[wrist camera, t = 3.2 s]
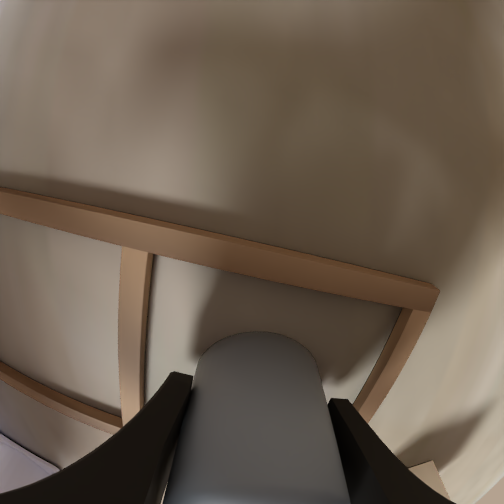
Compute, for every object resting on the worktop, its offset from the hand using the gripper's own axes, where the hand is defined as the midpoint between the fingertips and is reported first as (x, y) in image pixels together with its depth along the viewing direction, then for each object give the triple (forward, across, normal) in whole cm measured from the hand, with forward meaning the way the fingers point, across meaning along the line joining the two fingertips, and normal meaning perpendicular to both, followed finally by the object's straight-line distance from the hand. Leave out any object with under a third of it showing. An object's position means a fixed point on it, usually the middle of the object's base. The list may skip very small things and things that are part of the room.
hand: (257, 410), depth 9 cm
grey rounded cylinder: (+1, 0, 0) cm, 1 cm away
